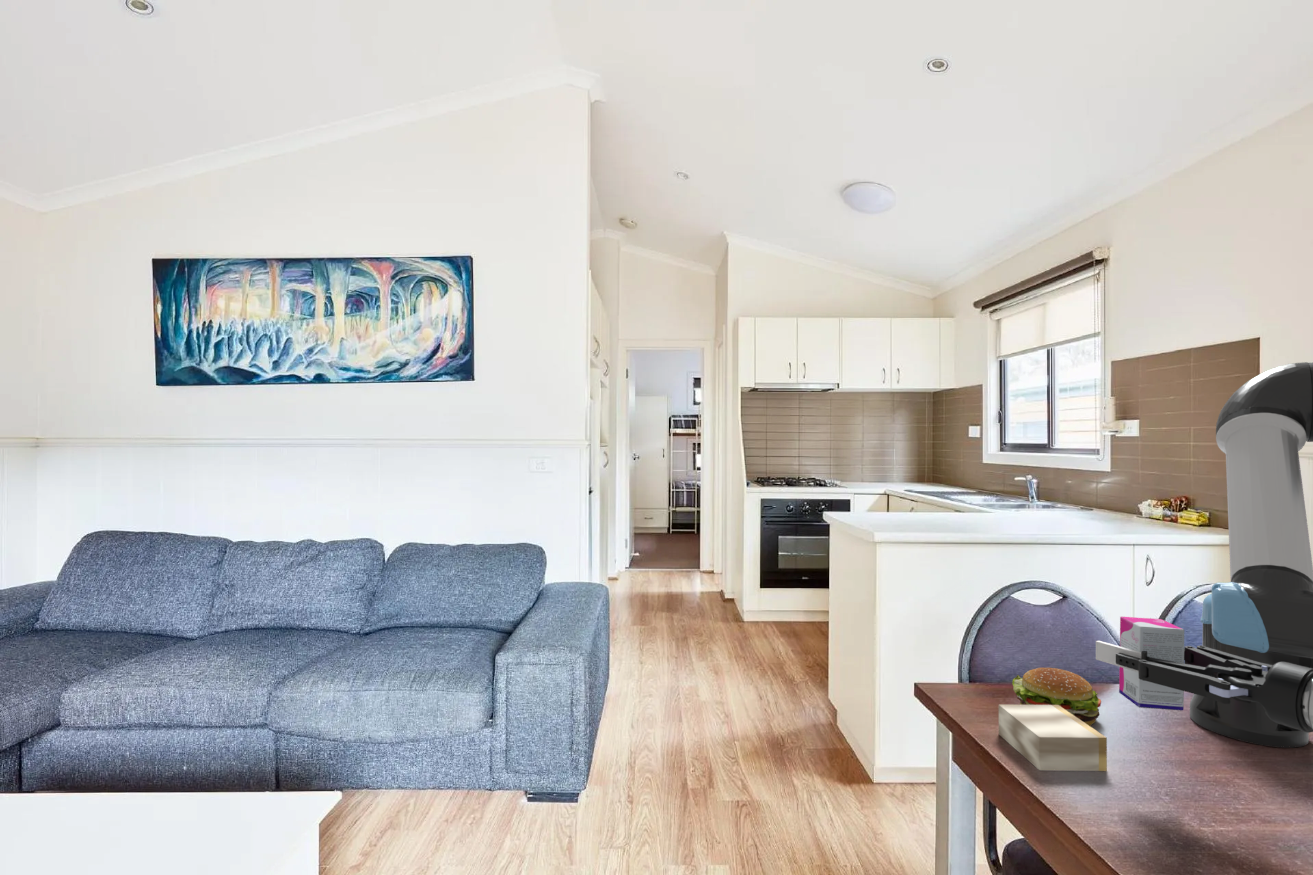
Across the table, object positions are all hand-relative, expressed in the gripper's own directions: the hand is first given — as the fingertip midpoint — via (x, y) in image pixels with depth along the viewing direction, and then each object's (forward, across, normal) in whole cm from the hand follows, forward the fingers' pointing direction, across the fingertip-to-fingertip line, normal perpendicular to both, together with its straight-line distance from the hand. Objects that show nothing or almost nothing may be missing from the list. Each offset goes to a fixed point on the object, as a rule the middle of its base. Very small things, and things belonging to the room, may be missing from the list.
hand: (1115, 646), depth 97 cm
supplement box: (-5, 0, -7) cm, 8 cm away
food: (+17, +10, -19) cm, 28 cm away
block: (+8, -4, -19) cm, 21 cm away
